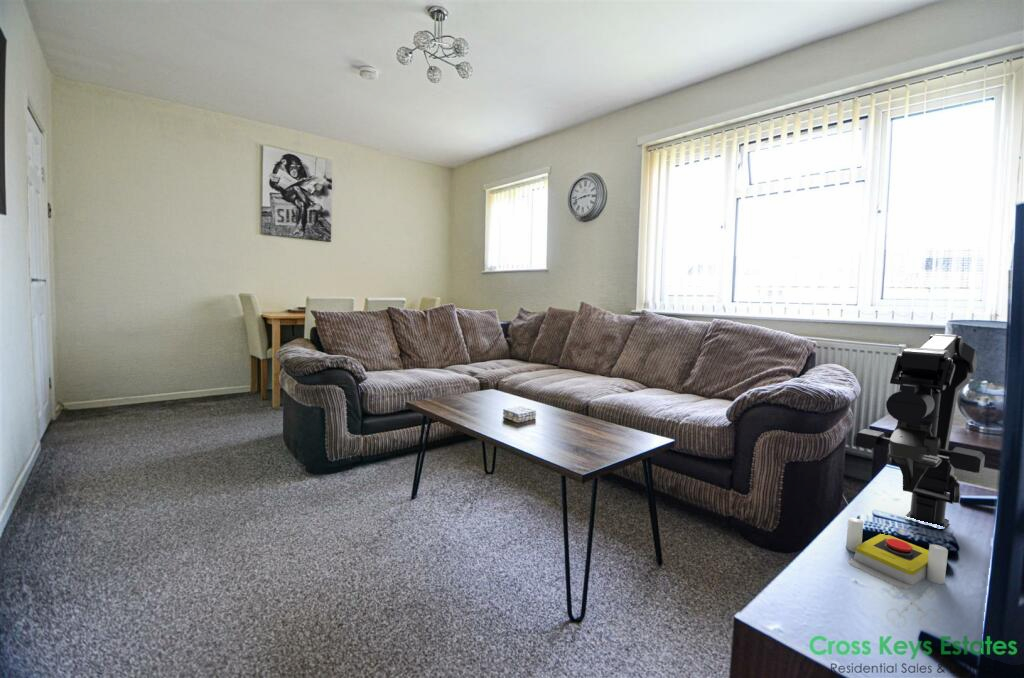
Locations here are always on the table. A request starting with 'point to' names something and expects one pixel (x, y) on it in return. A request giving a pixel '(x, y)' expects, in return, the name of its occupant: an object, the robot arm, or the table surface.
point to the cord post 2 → (937, 564)
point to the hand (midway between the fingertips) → (910, 490)
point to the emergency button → (892, 560)
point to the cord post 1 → (854, 533)
